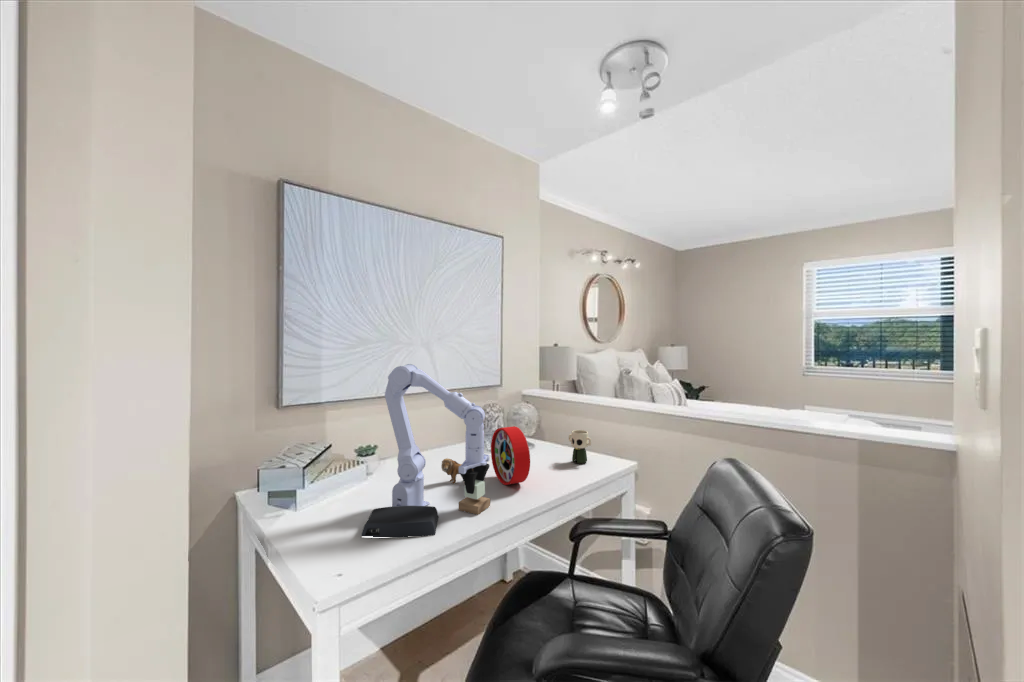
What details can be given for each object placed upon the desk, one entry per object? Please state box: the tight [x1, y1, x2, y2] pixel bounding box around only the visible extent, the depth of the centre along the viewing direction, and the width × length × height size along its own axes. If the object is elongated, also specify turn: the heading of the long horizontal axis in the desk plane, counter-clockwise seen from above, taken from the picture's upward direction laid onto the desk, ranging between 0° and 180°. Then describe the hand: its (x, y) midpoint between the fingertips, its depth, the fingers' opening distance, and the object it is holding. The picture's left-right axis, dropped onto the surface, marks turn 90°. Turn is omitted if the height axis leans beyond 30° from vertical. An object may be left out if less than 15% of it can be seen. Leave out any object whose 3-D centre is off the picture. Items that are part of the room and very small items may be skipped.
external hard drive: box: [360, 505, 439, 538], centre depth 115 cm, size 13×19×4 cm
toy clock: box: [490, 425, 531, 486], centre depth 150 cm, size 20×6×20 cm, turn 27°
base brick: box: [458, 496, 491, 516], centre depth 127 cm, size 7×7×2 cm
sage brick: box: [464, 480, 486, 499], centre depth 127 cm, size 4×4×4 cm
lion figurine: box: [441, 457, 473, 485], centre depth 151 cm, size 15×5×9 cm, turn 109°
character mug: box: [568, 429, 592, 464], centre depth 174 cm, size 11×7×13 cm, turn 49°
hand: (474, 490), depth 127 cm, fingers closed on sage brick, 4 cm apart
